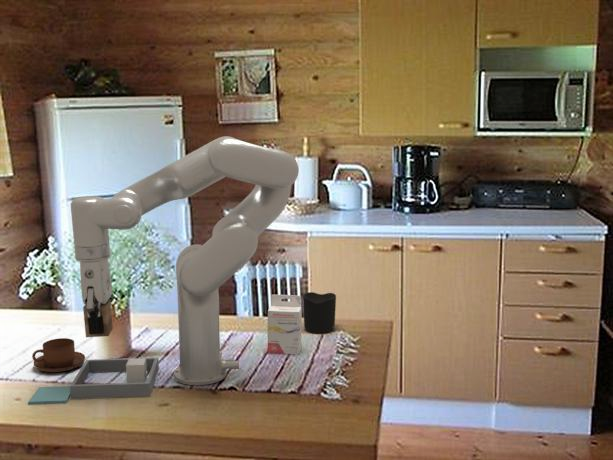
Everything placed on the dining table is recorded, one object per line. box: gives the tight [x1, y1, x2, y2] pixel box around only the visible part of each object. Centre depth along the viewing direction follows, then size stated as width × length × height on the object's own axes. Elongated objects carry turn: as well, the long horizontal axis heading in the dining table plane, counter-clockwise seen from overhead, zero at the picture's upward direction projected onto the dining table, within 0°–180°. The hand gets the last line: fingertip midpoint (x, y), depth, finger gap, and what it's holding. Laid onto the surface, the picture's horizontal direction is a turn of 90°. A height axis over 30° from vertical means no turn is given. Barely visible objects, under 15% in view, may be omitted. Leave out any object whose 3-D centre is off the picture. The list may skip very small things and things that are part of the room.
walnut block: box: [82, 299, 113, 338], centre depth 157 cm, size 5×5×7 cm
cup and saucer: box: [31, 337, 86, 373], centre depth 170 cm, size 12×12×6 cm
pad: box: [28, 385, 71, 405], centre depth 153 cm, size 8×8×1 cm
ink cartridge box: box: [267, 294, 303, 355], centre depth 180 cm, size 9×5×15 cm, turn 84°
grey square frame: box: [69, 357, 160, 400], centre depth 160 cm, size 17×16×3 cm
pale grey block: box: [125, 359, 148, 383], centre depth 161 cm, size 4×4×5 cm
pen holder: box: [302, 291, 337, 335], centre depth 198 cm, size 9×9×10 cm
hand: (99, 328), depth 158 cm, fingers closed on walnut block, 5 cm apart
